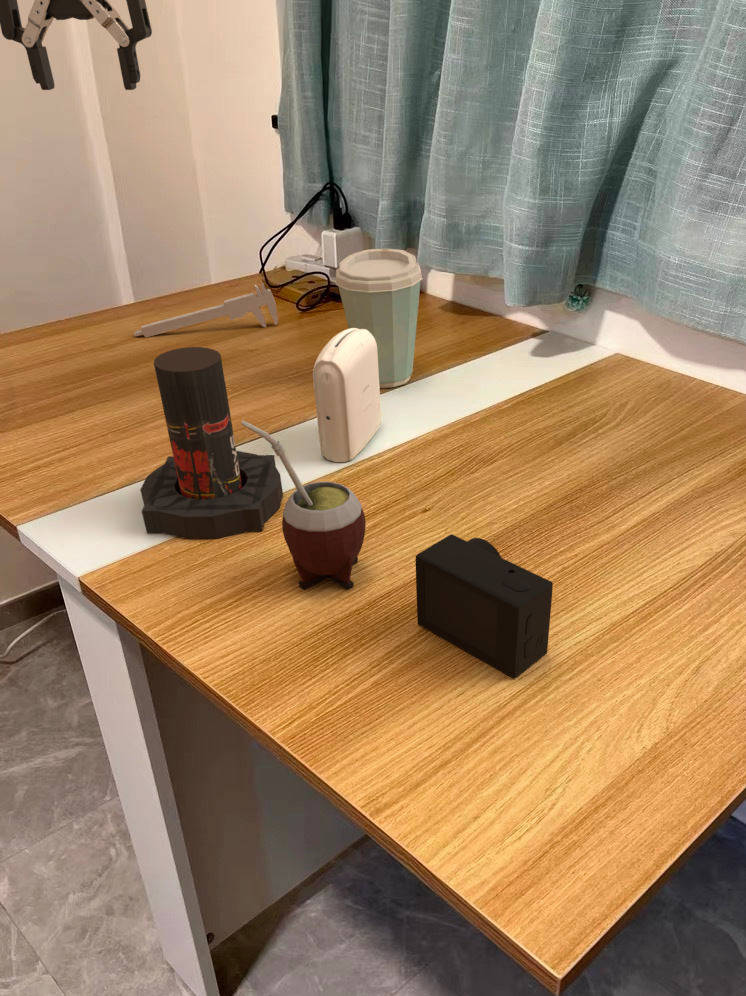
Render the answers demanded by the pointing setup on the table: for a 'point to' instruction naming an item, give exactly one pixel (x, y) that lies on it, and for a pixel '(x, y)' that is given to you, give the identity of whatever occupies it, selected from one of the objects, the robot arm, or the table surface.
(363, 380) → the photo printer
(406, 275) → the disposable coffee cup
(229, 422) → the deodorant
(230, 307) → the caliper
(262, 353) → the table surface
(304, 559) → the mate gourd
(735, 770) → the table surface
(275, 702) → the table surface
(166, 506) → the dock pad
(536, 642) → the digital camera
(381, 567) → the table surface
